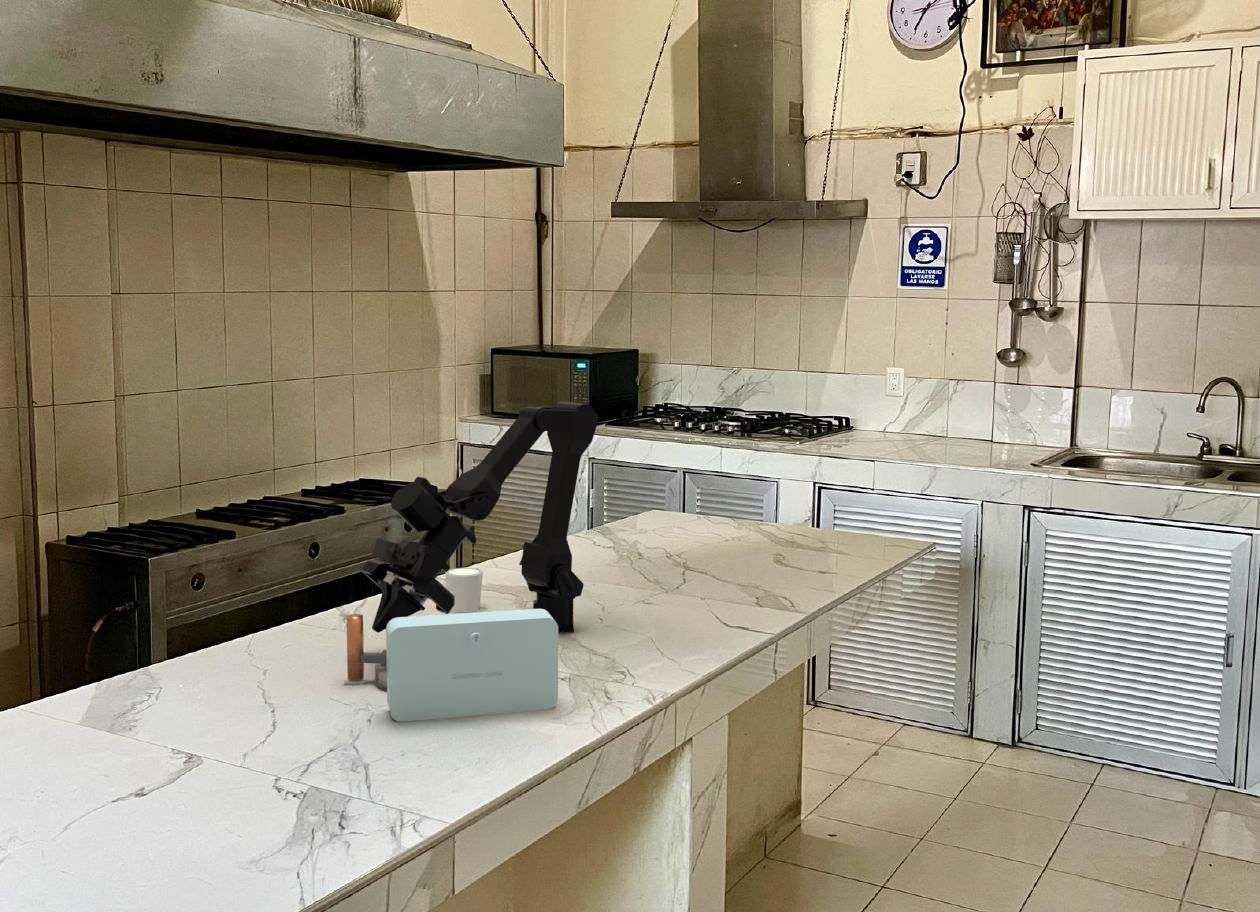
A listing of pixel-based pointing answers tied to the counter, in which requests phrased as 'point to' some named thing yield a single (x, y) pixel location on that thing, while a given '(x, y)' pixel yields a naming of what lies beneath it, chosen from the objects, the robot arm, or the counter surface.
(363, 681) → the pale green bar
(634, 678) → the counter surface
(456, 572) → the white cup
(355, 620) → the copper rod with bracket
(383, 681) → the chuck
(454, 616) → the pale blue box
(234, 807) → the counter surface
